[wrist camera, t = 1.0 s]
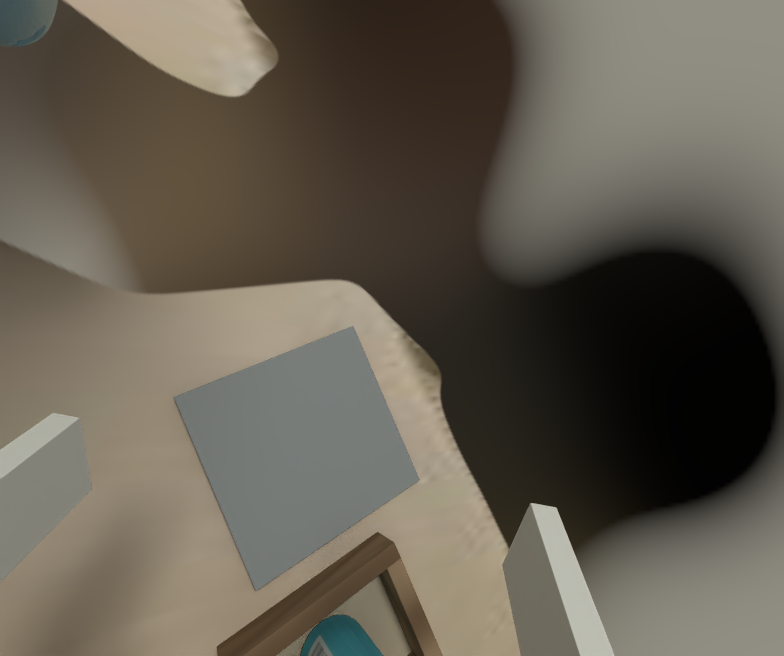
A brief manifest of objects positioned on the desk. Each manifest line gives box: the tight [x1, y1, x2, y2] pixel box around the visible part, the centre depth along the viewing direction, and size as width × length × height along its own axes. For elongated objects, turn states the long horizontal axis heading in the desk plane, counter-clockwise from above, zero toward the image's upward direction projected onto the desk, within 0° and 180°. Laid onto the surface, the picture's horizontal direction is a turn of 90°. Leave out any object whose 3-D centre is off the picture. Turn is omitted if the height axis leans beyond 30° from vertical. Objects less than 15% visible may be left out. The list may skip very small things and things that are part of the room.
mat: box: [174, 326, 419, 591], centre depth 30 cm, size 14×14×1 cm
